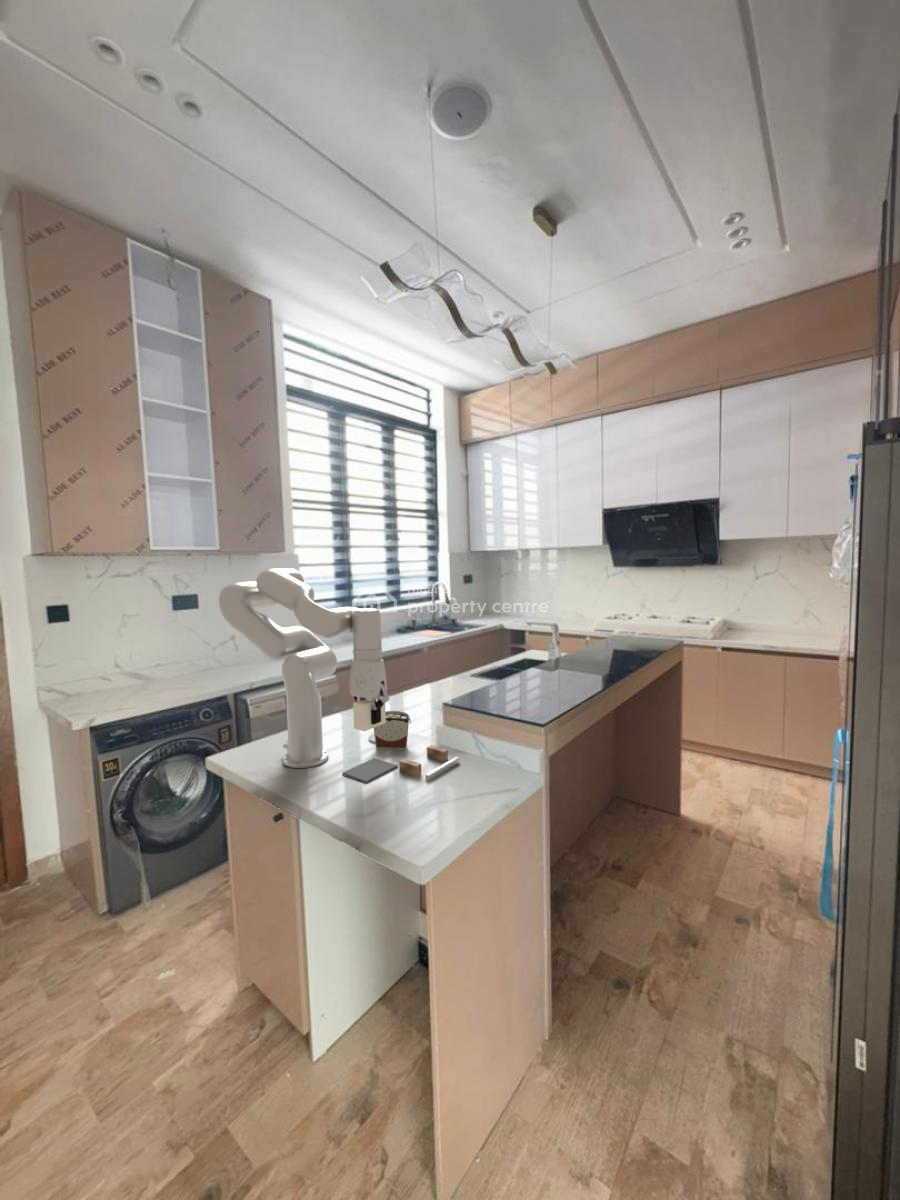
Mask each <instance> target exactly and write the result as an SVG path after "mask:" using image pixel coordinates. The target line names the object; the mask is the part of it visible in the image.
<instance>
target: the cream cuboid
mask: <svg viewBox="0 0 900 1200" xmlns="http://www.w3.org/2000/svg"><path fill="white" fill-rule="evenodd" d="M381 698H382V696H381ZM377 702H378V701H377V699H376V703H377ZM352 705H353V706H352V708H353V709H352V710H353V729H355V730H358V731H362V732H367V731H369V730H371V729H374V727H377V726H379V725H382V724H385V723H386V714H385V712H386V702H385V703H384V705H383V707H382V708H381V722H379V723H377V724H374V725H373V724H371V710H372V709H373V708H372V702H371V699H363V700H360V701H357V702H356V701H354V702H352Z"/></svg>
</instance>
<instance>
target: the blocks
mask: <svg viewBox="0 0 900 1200" xmlns="http://www.w3.org/2000/svg"><path fill="white" fill-rule="evenodd" d="M448 754H449V751H448V749H447V748H442V747H439V746H435V745H432V744H431V745H429V746H427V747H426V757H427V758H428V759H431V760H435V761H438V762H441V763H442V762H443V763H442V764H441V765H439V766H438V767H436V768H433V769H431V770H430V771H428V772H427V773H425V781H427V782H430V781H432V780H433V779H435V778H436V777H438V776H440V775H442V774H443V773H445V772H447V771H449V770H450V769H451V767H452V768H454V767H455V766H456V764H457V765H458V764H460V757H459V756H455V757H452V759H450V760H449V759H448V758H449V755H448ZM446 760H447V761H446ZM398 765H399V772H400V773H401V774H404V775H408V776H411V777H414V778H418V777H420V776H421V775H422V763H420V762H416V761H413V760H409V759H406V758H403V759H401V760H399V762H398ZM454 765H455V766H454Z"/></svg>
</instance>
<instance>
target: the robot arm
mask: <svg viewBox="0 0 900 1200" xmlns="http://www.w3.org/2000/svg"><path fill="white" fill-rule="evenodd" d="M314 598H315V590H314V588H313V587H312V586H310V585H308V584H307V583H305V579H304V577H303V575H302V573H301V572H299V570H297V569H295V568H291V567H290V568H288V567H287V568H285V567H282V568H281V567H279V568H275V567H274V568H273V567H272V568H268V569H265V570H262V571H261V572H260V573H259V574H258V576H257V578H256V580H253V581H249V580H248V581H237V582H234V583H230V584H227V585H226V586H224V587H223V588H222V590H220V592H219V596H218V606H219V609H220V613H221V614H222V617H223V618H224V620H225V621H226V622H227V623H228V625H230V626H231V627H232V628H233V629H234V630H236V631H238V632H239V633H240V634H241V635H242V636H243V637H245V638H246V639H247V641H249V642H250V643H251V644H252V645H254V647H255V648H257V649H258V650H259V651H260V652H261V653H262V654H263V655H264V656H265V657H267V658H268V659H269V660H271V661H273V662H283V663H282V665H281V676H282V680H283V684H284V685H283V686H284V689H285V701H286V717H287V719H286V720H287V723H286V724H287V741H286V742H285V743H283V745H282V747H283V748H284V749H285V750H286V751H287V753H286V754H285V755H284V757H282V761H283V762H282V763H283V765H284V766H286V767H288V768H293V769H304V768H312V767H316V766H319V765H321V764H323V763H325V762H326V761H328V759H329V752H328V751H327V749H324V744H323V743H324V742H323V720H322V719H323V716H322V715H323V714H322V696H321V693H320V691H319V689H318V686H317V684H316V682H317V681H318V682H319V681H321V680H324V679H325V678H328V677H330V676H332V675H333V674H334V673H335V672H336V670H337V667H338V659H337V657H336V654H335V653H334V651H333V650H332V648H330V647H329V646H328V645H327V644H326V643H325V642H324V641H322V640H321V639H320V638H319V637H317V636H320V637H323V638H327V639H333V638H337V637H340V636H347V635H351V634H352V645H353V646H352V647H353V649H352V654H353V658H352V659H351V662H350V670H349V694H350V695H351V697H353V699H354V702H357V701H360V700H363V699H371V702H372V708H373V709H372V710H371V724H373V725H374V724H377V723H379V722H381V708H382V707H383V705H384V703H385V704H386V703H387V702H389V700H391V699H390V696H389V694H388V683H387V673H386V667H385V662H384V659H383V648H382V647H383V646H382V645H383V644H382V643H383V641H382V615H381V612H380V610H379V609H378V608H370V607H367V608H363V607H362V608H359V607H354V606H353V607H352V606H343V607H336V608H335V607H334V608H329V609H328V608H326V607H324V606H322V605H320V604H318V603H316V602H314V600H315V599H314ZM277 604H279V605H281V606H282V607H284V608H286V609H288V610H289V611H291V612H293V613H294V616H295V619H296V620H297V621H298V623H300V626H299V625H293V626H292V625H291V626H280V625H279V624H276V623H275V622H274V621H273V620H272V619H271V618H269V616H267V615H265V614H263V613H261V612H260V611H258V609H264V608H265V609H266V608H270V607H272V606H275V605H277ZM315 634H316V635H317V636H316V635H315ZM381 697H382V698H381ZM376 699H377V701H378V702H377V703H376Z"/></svg>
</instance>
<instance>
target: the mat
mask: <svg viewBox="0 0 900 1200" xmlns="http://www.w3.org/2000/svg"><path fill="white" fill-rule="evenodd" d="M398 765H399V764H395V763H392V762H388V761H386V760H383V759H378V758H375V757H373V758H371V759H369V760H367V761H365V762H363V763H361V764H358V765H356V766H354V767H351V768H350V769H347V770H346V771H343V772H342V776H344V775H345V777H347V776H348V778H350V779H353V780H356V779H357V780H356V781H358V780H360V781H359V782H361V781H362V783H364V782H365V784H368V783H370V782H372V781H373V779H374V780H376V779H377V778H380V777H382V776H384V775H385V774H387V773H389V772H392V771H393V770H395V769H397V768H398ZM379 776H380V777H379ZM375 778H376V779H375ZM371 780H372V781H371ZM369 781H370V782H369ZM367 782H368V783H367Z"/></svg>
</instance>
